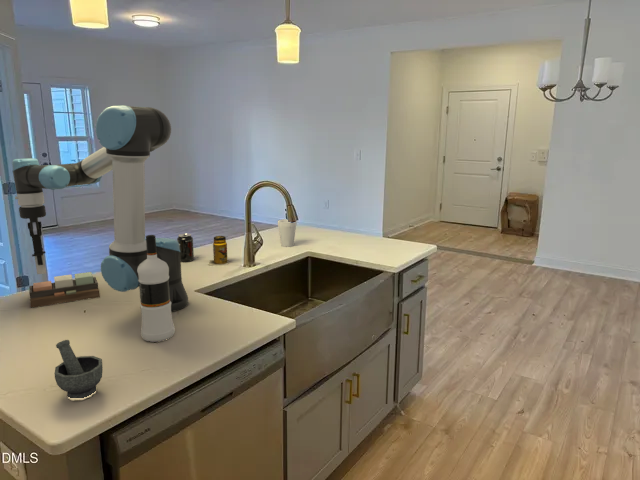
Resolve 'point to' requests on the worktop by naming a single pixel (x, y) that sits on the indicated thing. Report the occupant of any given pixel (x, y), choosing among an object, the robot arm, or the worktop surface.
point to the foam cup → (286, 232)
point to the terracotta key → (42, 286)
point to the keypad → (63, 294)
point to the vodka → (155, 296)
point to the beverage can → (186, 247)
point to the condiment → (219, 251)
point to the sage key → (84, 278)
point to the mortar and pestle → (77, 372)
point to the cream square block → (63, 281)
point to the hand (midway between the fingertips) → (41, 273)
